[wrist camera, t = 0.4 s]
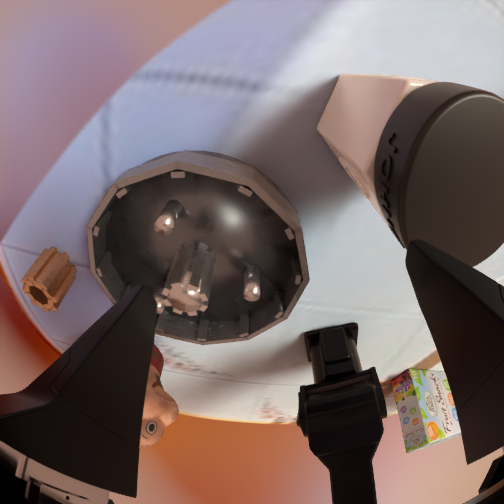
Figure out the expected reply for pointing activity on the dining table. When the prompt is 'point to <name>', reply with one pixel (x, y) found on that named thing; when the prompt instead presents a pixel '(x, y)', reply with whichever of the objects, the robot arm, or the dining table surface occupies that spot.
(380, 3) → the dining table surface
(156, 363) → the terracotta mug
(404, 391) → the snack box
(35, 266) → the bronze pinion
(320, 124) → the jar
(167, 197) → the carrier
